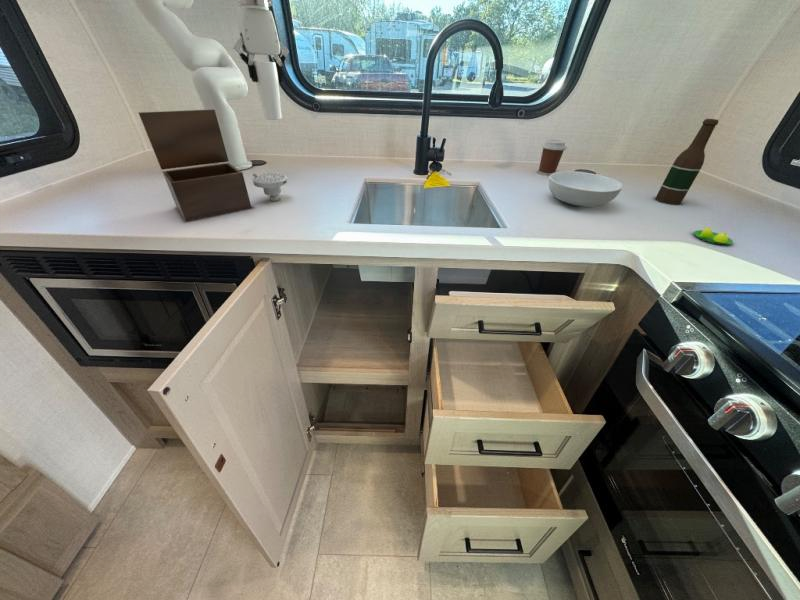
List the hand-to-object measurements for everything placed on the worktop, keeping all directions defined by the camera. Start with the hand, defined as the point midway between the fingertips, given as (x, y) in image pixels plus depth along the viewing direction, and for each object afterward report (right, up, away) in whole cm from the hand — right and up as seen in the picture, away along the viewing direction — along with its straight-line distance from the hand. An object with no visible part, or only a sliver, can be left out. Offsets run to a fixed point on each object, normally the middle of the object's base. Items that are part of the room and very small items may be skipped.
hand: (267, 81), depth 96 cm
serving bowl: (+99, -35, +6) cm, 105 cm away
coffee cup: (+102, -15, +34) cm, 108 cm away
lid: (-15, -25, -14) cm, 32 cm away
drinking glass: (0, -8, +6) cm, 10 cm away
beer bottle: (+131, -34, +9) cm, 136 cm away
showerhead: (+2, -37, -1) cm, 37 cm away
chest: (-12, -41, -8) cm, 43 cm away
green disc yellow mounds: (+122, -52, -15) cm, 133 cm away
